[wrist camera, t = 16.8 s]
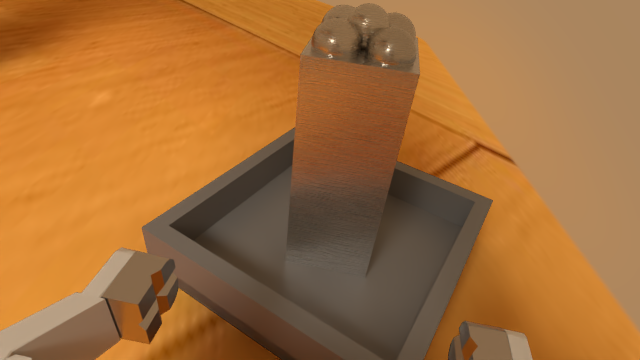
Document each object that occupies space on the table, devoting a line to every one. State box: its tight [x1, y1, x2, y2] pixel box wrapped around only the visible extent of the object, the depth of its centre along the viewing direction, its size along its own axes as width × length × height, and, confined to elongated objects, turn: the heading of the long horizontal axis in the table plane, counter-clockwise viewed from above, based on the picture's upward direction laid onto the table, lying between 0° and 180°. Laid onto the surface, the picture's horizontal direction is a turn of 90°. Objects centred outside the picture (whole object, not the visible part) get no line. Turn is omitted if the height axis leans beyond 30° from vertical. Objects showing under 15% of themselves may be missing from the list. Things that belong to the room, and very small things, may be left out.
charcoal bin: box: [142, 128, 493, 360], centre depth 26 cm, size 16×16×4 cm
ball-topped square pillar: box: [285, 3, 420, 278], centre depth 22 cm, size 5×5×15 cm
